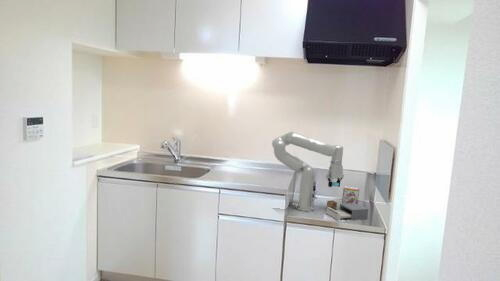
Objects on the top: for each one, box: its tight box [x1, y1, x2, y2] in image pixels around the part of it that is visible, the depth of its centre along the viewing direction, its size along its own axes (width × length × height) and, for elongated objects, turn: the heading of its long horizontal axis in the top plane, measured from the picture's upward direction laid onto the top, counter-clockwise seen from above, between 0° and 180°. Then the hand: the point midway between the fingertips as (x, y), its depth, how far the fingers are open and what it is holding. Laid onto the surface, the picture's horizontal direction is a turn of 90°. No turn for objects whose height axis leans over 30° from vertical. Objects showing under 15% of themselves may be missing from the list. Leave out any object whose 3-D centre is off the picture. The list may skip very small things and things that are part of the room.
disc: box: [332, 181, 339, 187], centre depth 239 cm, size 7×7×2 cm
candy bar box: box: [341, 185, 360, 204], centre depth 245 cm, size 11×5×16 cm, turn 77°
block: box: [326, 199, 338, 211], centre depth 241 cm, size 5×5×6 cm
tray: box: [326, 206, 351, 221], centre depth 226 cm, size 14×14×5 cm
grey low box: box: [339, 203, 369, 221], centre depth 230 cm, size 13×14×7 cm
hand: (333, 186), depth 239 cm, fingers closed on disc, 6 cm apart
